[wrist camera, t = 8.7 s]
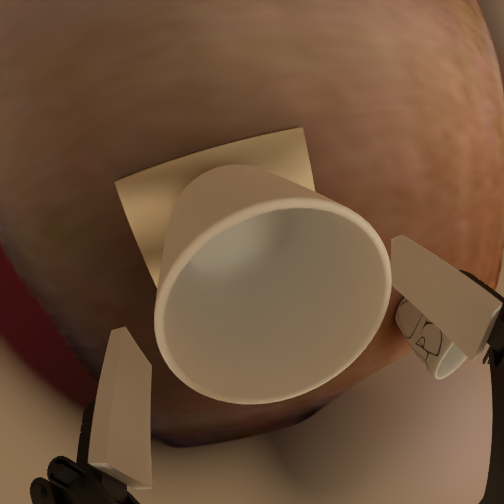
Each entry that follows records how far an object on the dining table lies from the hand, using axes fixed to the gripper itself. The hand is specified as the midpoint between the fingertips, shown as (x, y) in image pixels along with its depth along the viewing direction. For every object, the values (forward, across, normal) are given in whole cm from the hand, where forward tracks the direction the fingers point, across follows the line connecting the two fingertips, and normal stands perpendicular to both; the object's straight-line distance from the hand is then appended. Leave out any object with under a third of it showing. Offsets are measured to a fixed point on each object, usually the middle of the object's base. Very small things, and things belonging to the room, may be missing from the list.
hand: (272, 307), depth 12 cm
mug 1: (+7, 0, 0) cm, 7 cm away
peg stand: (+11, 0, -1) cm, 11 cm away
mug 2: (+11, +21, -18) cm, 29 cm away
